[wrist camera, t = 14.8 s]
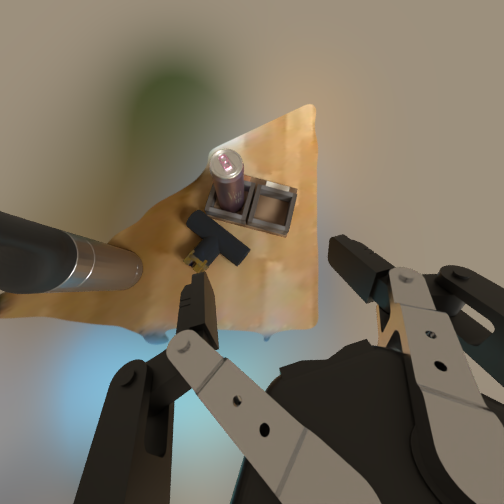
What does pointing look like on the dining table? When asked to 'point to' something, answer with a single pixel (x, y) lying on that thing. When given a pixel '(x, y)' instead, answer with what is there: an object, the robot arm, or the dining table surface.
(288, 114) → the dining table surface
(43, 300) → the dining table surface
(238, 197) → the beverage can
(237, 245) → the pipe connector
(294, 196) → the socket board
